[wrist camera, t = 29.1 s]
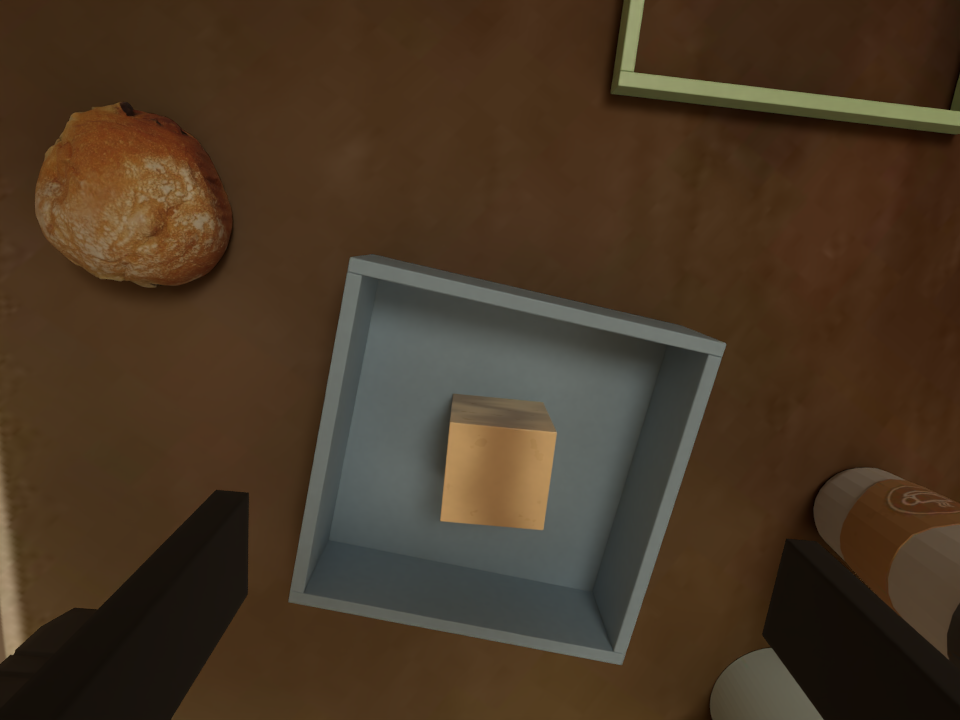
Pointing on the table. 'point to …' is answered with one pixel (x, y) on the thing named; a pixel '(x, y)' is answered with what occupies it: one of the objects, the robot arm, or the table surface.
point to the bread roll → (133, 198)
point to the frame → (765, 92)
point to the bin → (423, 448)
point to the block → (498, 462)
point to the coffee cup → (898, 547)
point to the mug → (759, 691)
